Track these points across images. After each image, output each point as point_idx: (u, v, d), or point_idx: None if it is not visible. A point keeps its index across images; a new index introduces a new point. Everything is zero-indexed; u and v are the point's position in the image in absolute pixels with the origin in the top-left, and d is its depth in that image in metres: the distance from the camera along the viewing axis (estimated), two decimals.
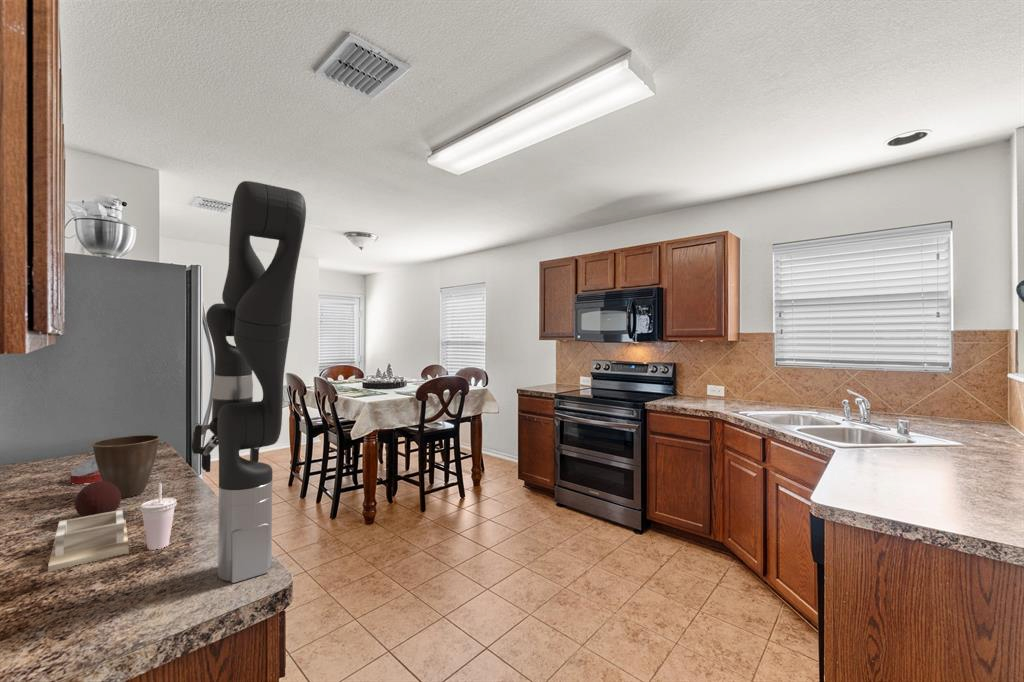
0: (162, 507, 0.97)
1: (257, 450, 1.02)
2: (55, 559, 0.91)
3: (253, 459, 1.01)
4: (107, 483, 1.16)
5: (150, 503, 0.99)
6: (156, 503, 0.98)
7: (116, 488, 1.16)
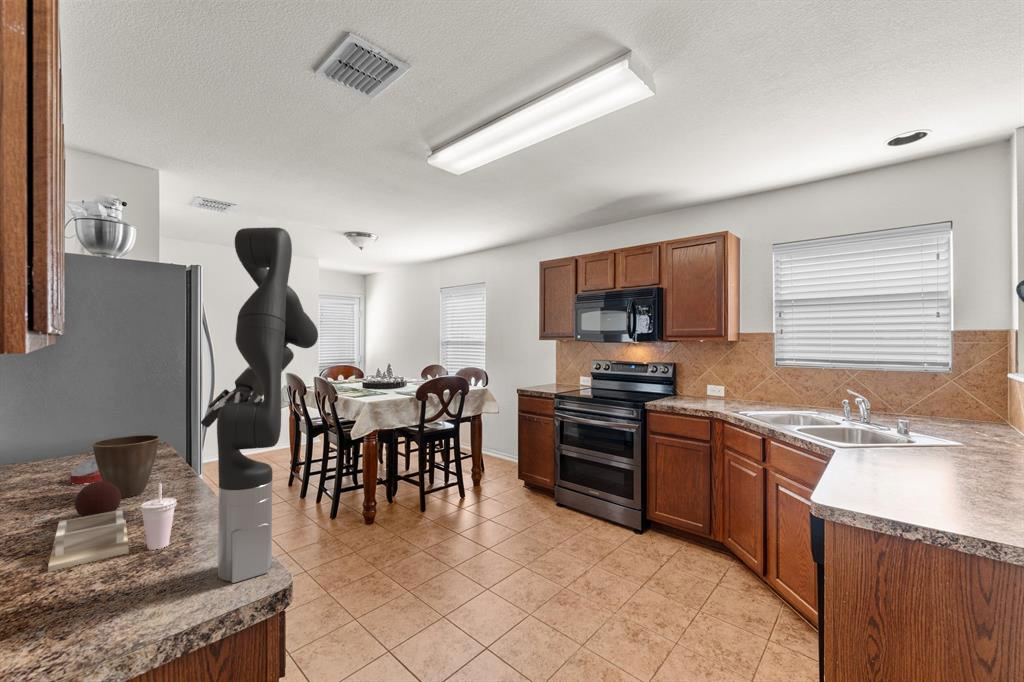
0: (162, 507, 0.97)
1: None
2: (55, 559, 0.91)
3: None
4: (107, 483, 1.16)
5: (150, 503, 0.99)
6: (156, 503, 0.98)
7: (116, 488, 1.16)
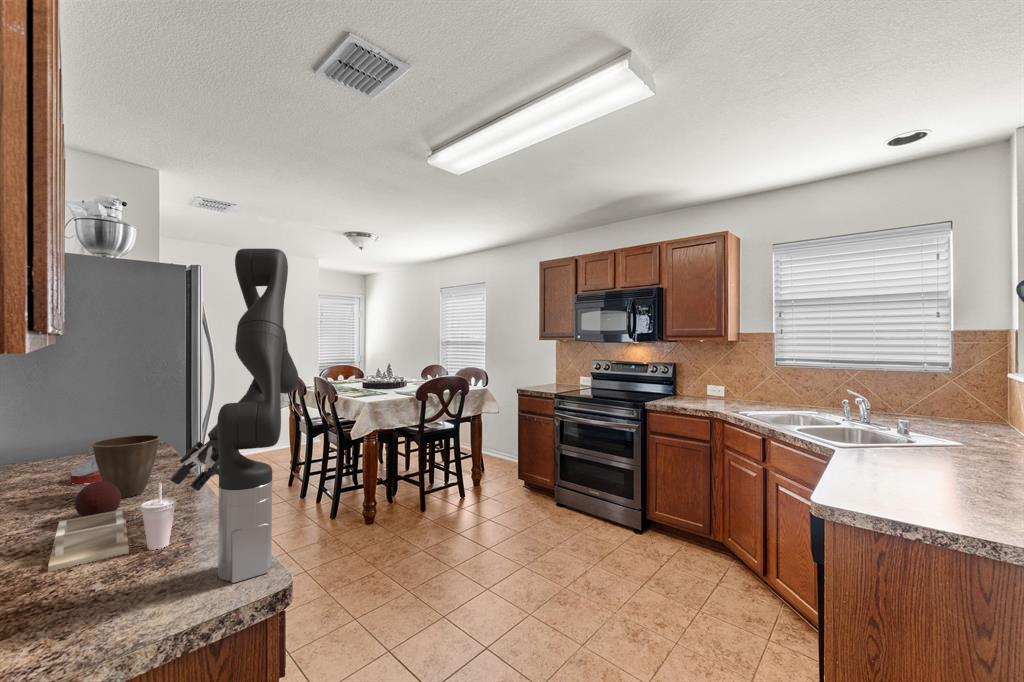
0: (162, 507, 0.97)
1: (205, 474, 1.03)
2: (55, 559, 0.91)
3: (195, 479, 1.02)
4: (107, 483, 1.16)
5: (150, 503, 0.99)
6: (156, 503, 0.98)
7: (116, 488, 1.16)
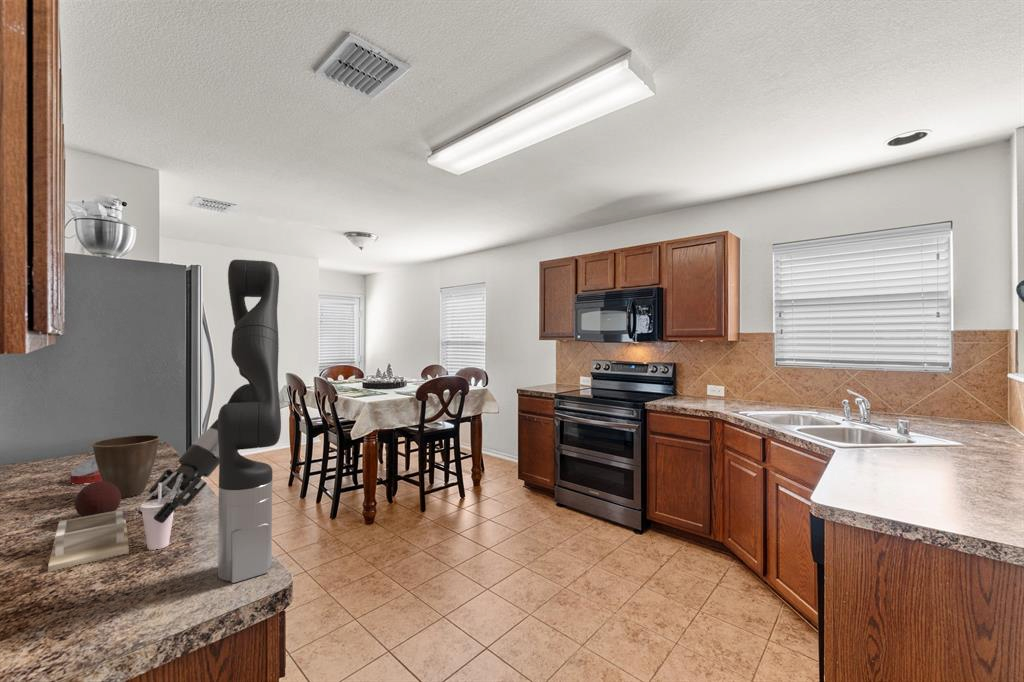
0: None
1: (169, 505, 0.98)
2: (55, 559, 0.91)
3: (159, 511, 0.97)
4: (107, 483, 1.16)
5: (150, 503, 0.99)
6: (156, 503, 0.98)
7: (116, 488, 1.16)
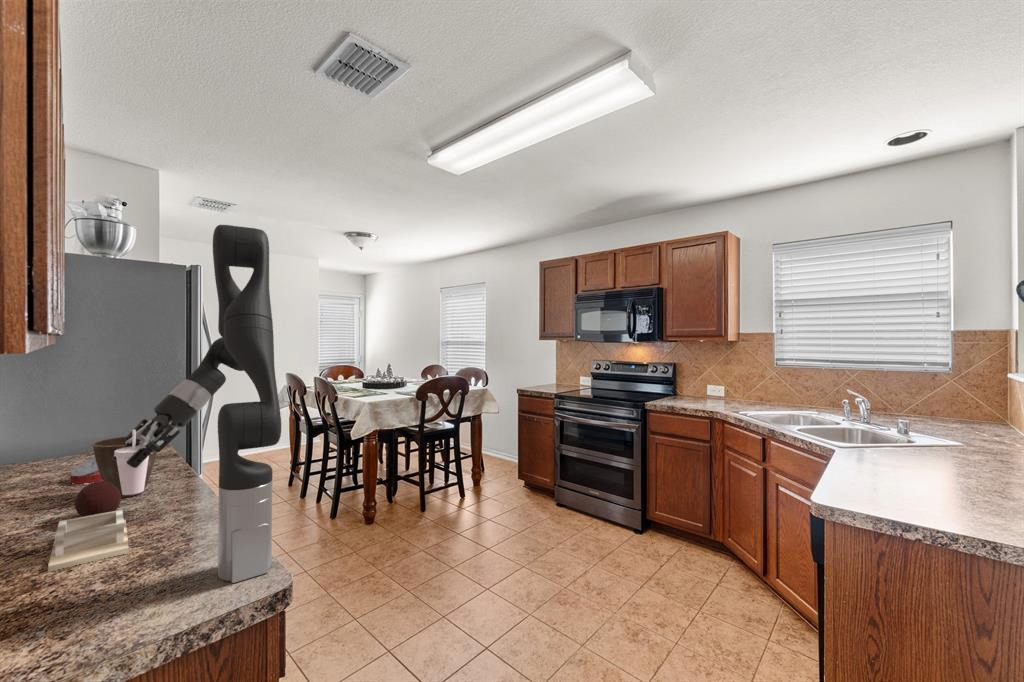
0: (135, 452, 0.98)
1: (142, 451, 0.98)
2: (55, 559, 0.91)
3: (132, 456, 0.97)
4: (107, 483, 1.16)
5: (124, 449, 1.00)
6: (130, 449, 0.99)
7: (116, 488, 1.16)
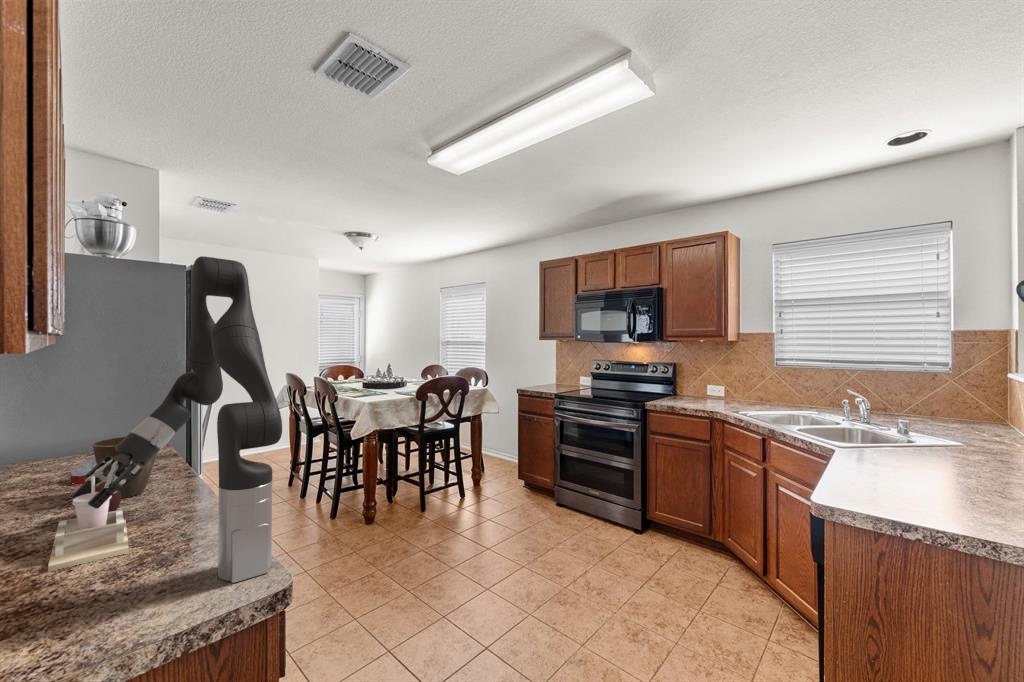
0: None
1: (105, 491, 0.98)
2: (55, 559, 0.91)
3: (94, 497, 0.97)
4: None
5: (83, 497, 0.99)
6: (89, 497, 0.99)
7: None
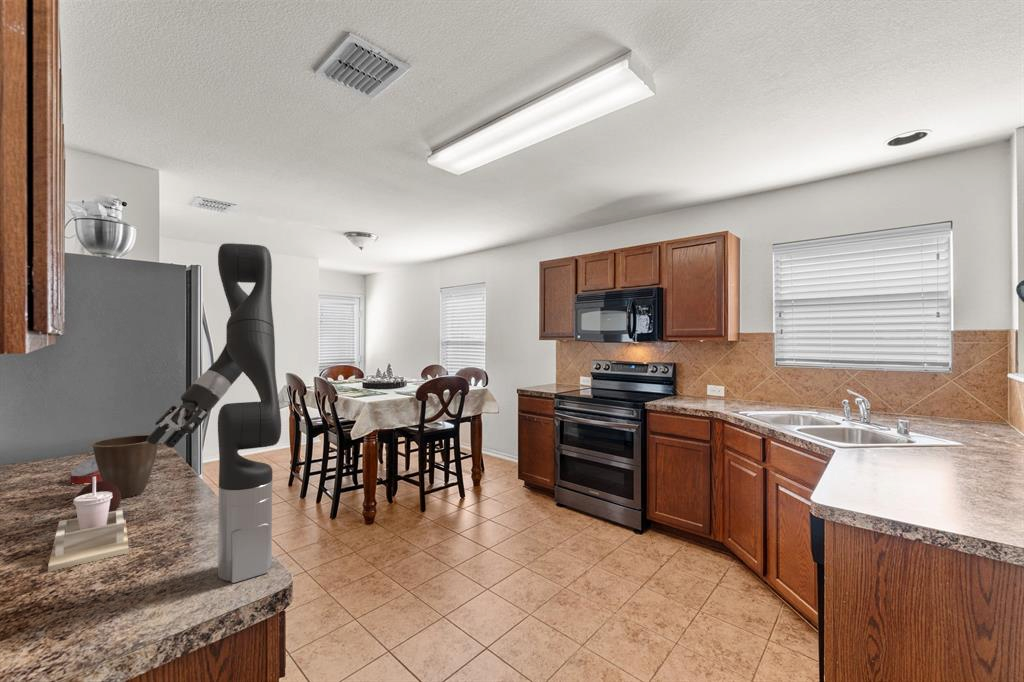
0: (95, 500, 0.98)
1: (177, 432, 1.09)
2: (55, 559, 0.91)
3: (168, 437, 1.08)
4: (107, 483, 1.16)
5: (84, 496, 0.99)
6: (90, 496, 0.99)
7: (116, 488, 1.16)
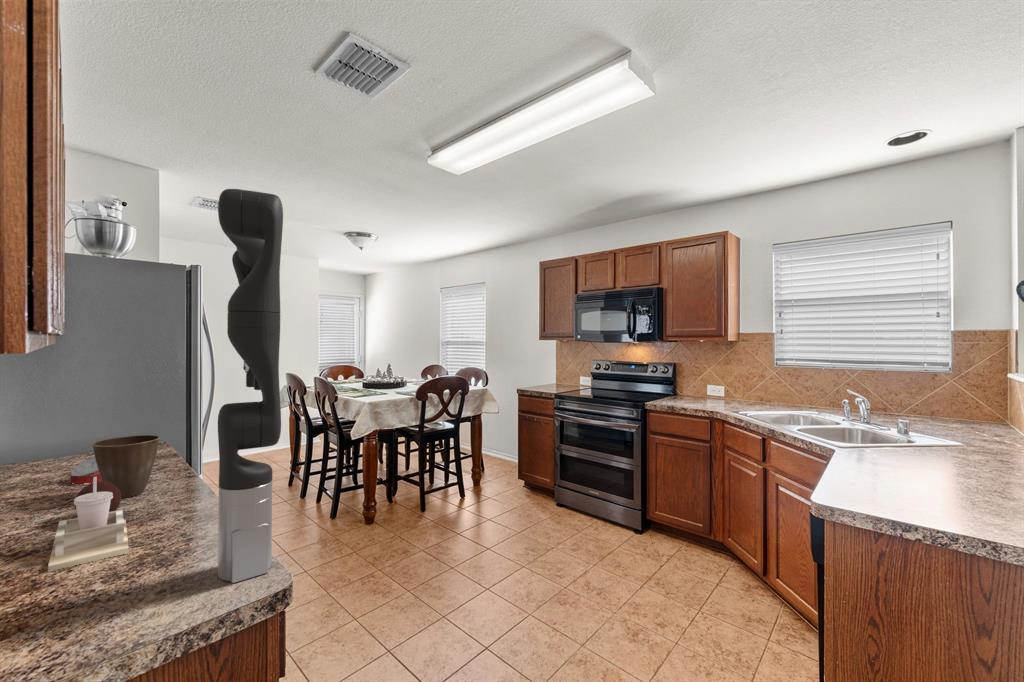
0: (95, 500, 0.98)
1: None
2: (55, 559, 0.91)
3: (254, 384, 1.14)
4: (107, 483, 1.16)
5: (85, 496, 0.99)
6: (90, 496, 0.99)
7: (116, 488, 1.16)
